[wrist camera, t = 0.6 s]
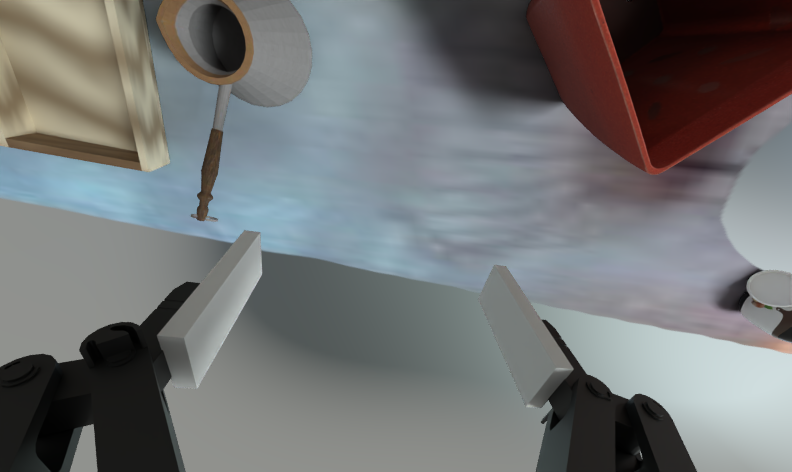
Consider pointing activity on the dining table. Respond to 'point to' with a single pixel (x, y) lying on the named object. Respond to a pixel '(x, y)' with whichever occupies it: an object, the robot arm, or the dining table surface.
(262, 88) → the coffee pot
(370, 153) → the dining table surface
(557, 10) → the plant pot
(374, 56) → the dining table surface
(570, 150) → the dining table surface
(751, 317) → the spread jar
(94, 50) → the channel
